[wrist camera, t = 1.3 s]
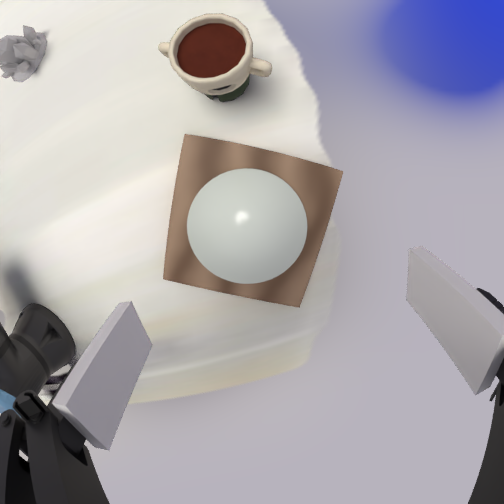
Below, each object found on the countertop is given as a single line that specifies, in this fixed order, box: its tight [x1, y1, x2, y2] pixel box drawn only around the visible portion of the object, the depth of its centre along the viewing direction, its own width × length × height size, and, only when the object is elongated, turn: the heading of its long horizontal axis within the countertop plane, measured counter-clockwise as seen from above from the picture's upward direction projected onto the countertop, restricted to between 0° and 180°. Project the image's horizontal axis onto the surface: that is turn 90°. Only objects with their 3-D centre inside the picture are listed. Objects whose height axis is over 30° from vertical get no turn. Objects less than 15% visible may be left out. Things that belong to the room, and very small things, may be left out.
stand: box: [163, 134, 343, 307], centre depth 36 cm, size 20×20×2 cm
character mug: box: [158, 14, 272, 102], centre depth 23 cm, size 11×7×13 cm, turn 73°
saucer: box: [187, 168, 307, 284], centre depth 35 cm, size 15×15×1 cm
